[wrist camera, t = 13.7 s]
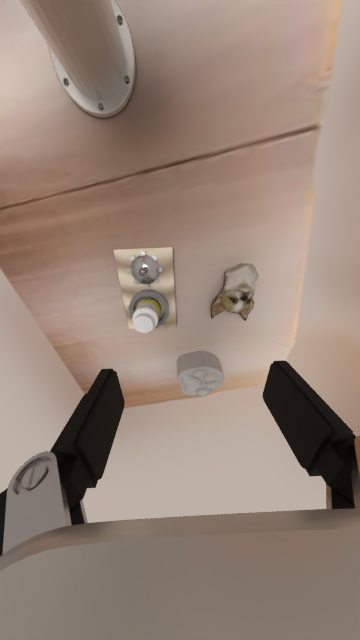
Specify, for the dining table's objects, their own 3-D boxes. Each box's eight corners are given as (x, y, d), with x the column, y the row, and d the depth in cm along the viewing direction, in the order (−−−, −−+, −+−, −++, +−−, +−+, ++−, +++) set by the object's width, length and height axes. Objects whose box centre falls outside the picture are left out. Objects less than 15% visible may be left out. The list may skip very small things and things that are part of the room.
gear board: (115, 249, 37) (113, 249, 35) (172, 247, 37) (172, 247, 35) (130, 326, 45) (129, 329, 44) (176, 324, 45) (176, 326, 44)
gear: (125, 251, 36) (119, 252, 32) (161, 250, 36) (159, 250, 32) (131, 287, 39) (126, 291, 35) (163, 285, 39) (162, 290, 35)
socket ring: (128, 290, 39) (125, 293, 37) (167, 288, 39) (166, 291, 37) (134, 324, 43) (132, 329, 41) (169, 323, 44) (169, 327, 41)
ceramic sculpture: (281, 268, 31) (257, 332, 38) (261, 260, 38) (243, 315, 46) (227, 263, 30) (213, 329, 38) (217, 256, 38) (207, 313, 45)
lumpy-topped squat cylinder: (175, 355, 50) (175, 375, 42) (216, 347, 49) (224, 367, 42) (182, 379, 55) (183, 401, 47) (219, 372, 54) (227, 394, 46)
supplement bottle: (148, 320, 43) (140, 341, 34) (134, 303, 41) (123, 321, 32) (165, 309, 42) (162, 328, 33) (152, 292, 40) (145, 307, 30)
